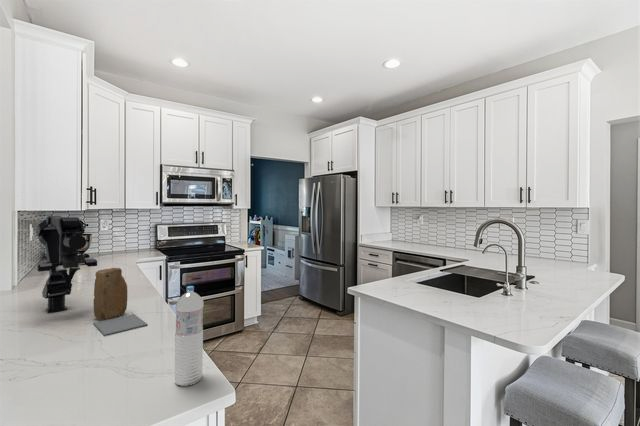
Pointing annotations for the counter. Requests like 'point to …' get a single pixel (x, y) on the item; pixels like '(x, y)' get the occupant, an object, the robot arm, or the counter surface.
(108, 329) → the mat
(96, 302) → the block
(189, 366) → the water bottle
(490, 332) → the counter surface
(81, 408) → the counter surface
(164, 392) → the counter surface
